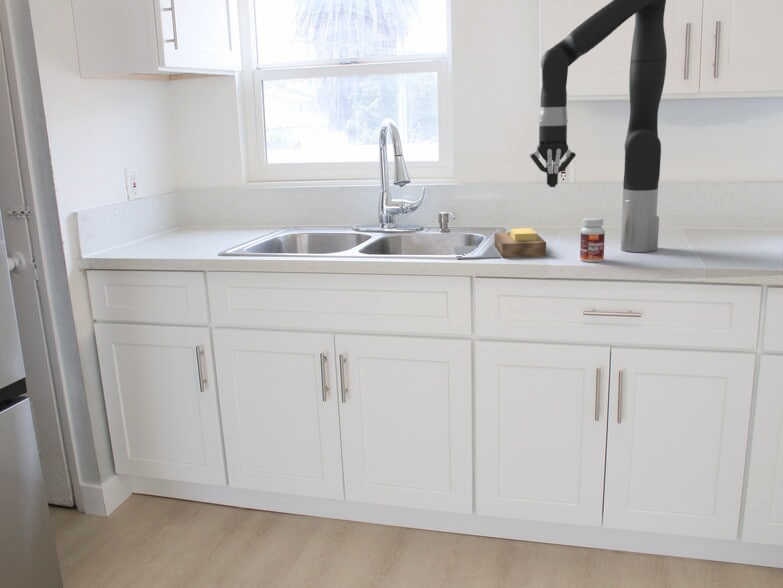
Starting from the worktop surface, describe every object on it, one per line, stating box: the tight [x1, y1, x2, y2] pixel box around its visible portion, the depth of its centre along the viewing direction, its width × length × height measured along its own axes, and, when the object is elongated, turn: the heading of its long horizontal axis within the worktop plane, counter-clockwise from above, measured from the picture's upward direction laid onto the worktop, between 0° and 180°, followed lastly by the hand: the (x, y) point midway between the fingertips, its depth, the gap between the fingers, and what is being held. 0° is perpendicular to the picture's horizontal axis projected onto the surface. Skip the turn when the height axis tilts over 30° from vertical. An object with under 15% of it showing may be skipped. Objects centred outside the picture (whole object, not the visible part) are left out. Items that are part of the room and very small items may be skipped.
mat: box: [452, 244, 502, 260], centre depth 217 cm, size 12×18×1 cm, turn 179°
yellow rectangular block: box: [510, 227, 538, 241], centre depth 214 cm, size 6×9×2 cm, turn 179°
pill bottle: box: [579, 216, 606, 263], centre depth 199 cm, size 6×6×11 cm
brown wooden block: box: [494, 231, 547, 259], centre depth 216 cm, size 12×18×4 cm, turn 179°
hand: (552, 186), depth 211 cm, fingers closed
